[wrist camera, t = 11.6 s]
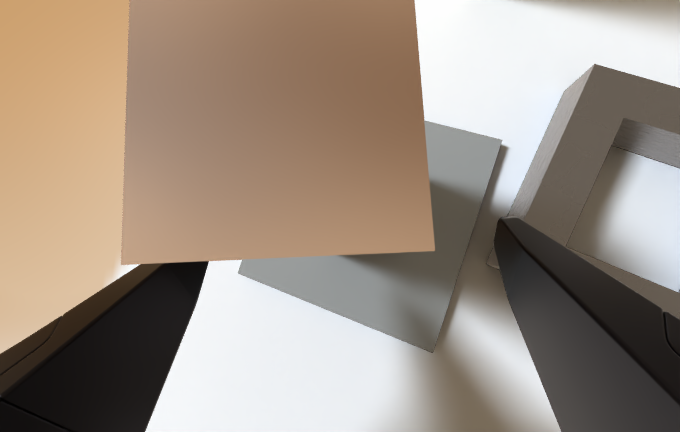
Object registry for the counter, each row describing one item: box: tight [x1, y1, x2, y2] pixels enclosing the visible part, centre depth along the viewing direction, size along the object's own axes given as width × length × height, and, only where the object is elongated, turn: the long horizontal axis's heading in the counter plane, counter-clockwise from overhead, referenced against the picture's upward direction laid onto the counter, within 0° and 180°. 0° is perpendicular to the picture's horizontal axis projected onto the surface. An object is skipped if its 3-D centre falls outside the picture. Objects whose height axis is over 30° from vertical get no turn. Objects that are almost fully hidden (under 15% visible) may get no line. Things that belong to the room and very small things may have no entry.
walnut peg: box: [121, 0, 435, 265], centre depth 10 cm, size 4×4×13 cm
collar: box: [486, 64, 680, 319], centre depth 14 cm, size 10×10×2 cm
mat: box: [238, 121, 502, 353], centre depth 17 cm, size 12×12×1 cm
